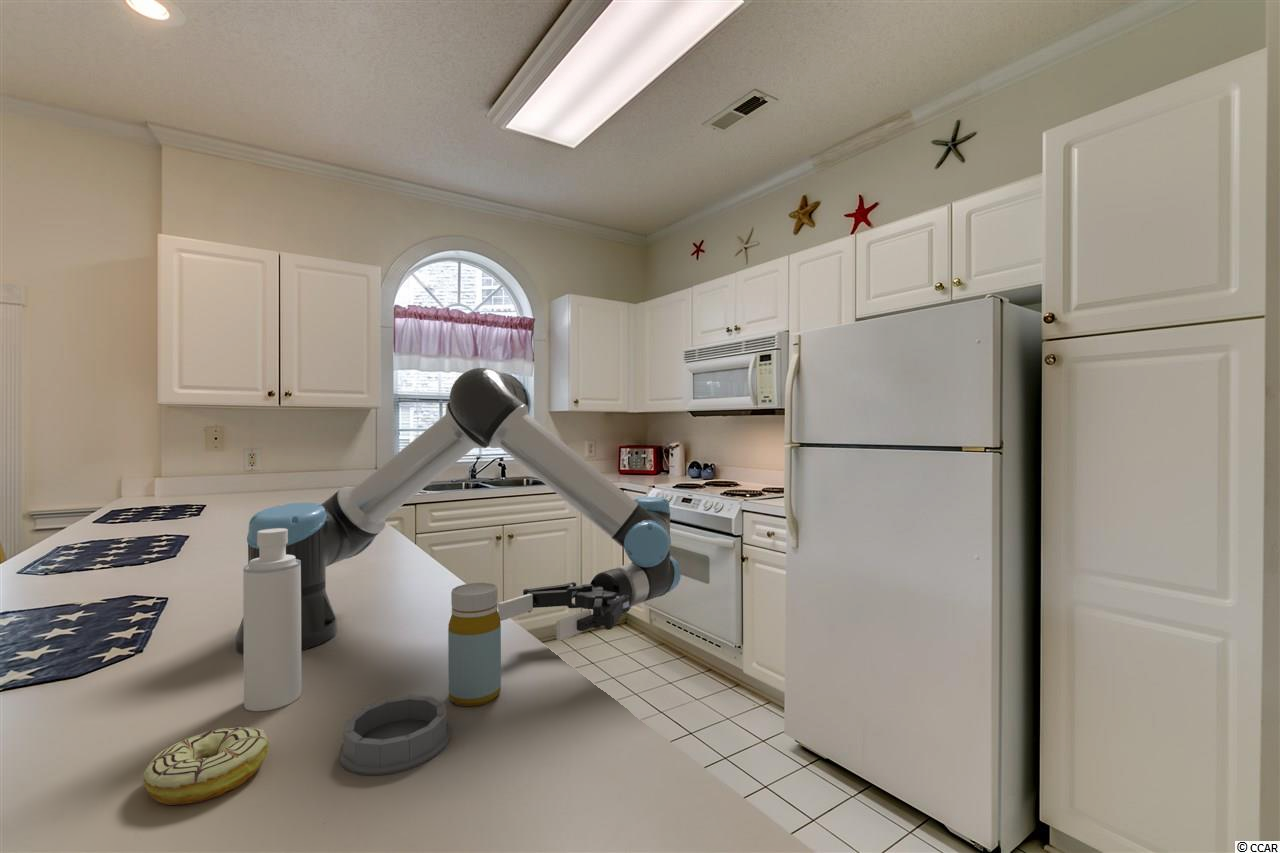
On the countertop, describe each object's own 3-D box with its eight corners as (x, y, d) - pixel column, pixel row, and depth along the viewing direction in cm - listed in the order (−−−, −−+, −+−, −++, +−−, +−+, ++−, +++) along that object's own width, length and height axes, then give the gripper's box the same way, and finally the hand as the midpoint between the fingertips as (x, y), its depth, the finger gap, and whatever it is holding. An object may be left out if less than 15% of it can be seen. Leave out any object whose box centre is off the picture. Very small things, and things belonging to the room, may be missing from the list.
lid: (321, 748, 66) (321, 722, 66) (417, 708, 76) (416, 685, 76) (370, 789, 59) (370, 759, 59) (470, 739, 68) (470, 713, 68)
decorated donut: (222, 745, 68) (222, 713, 68) (290, 761, 64) (290, 728, 64) (118, 799, 58) (118, 762, 58) (191, 822, 54) (191, 782, 54)
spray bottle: (239, 716, 74) (239, 524, 74) (247, 694, 80) (247, 517, 80) (299, 704, 77) (298, 520, 77) (303, 684, 83) (302, 513, 83)
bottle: (486, 710, 75) (486, 597, 75) (438, 705, 76) (438, 594, 76) (509, 686, 82) (508, 583, 82) (464, 682, 83) (464, 580, 83)
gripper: (674, 624, 95) (586, 666, 79) (570, 597, 111) (478, 627, 94) (674, 580, 95) (586, 612, 79) (570, 558, 111) (478, 582, 94)
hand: (527, 621), depth 86 cm, fingers open, 13 cm apart
